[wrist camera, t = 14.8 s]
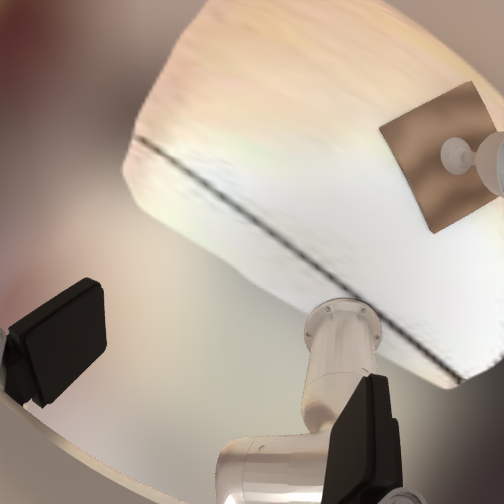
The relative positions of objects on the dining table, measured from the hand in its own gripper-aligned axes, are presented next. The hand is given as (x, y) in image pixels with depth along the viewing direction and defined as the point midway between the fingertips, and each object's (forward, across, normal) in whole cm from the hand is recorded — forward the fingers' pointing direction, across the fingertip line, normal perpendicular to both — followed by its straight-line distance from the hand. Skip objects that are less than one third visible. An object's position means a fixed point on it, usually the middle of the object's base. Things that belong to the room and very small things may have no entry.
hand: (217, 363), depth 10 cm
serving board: (+36, -18, -11) cm, 42 cm away
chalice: (+34, -18, -11) cm, 41 cm away
